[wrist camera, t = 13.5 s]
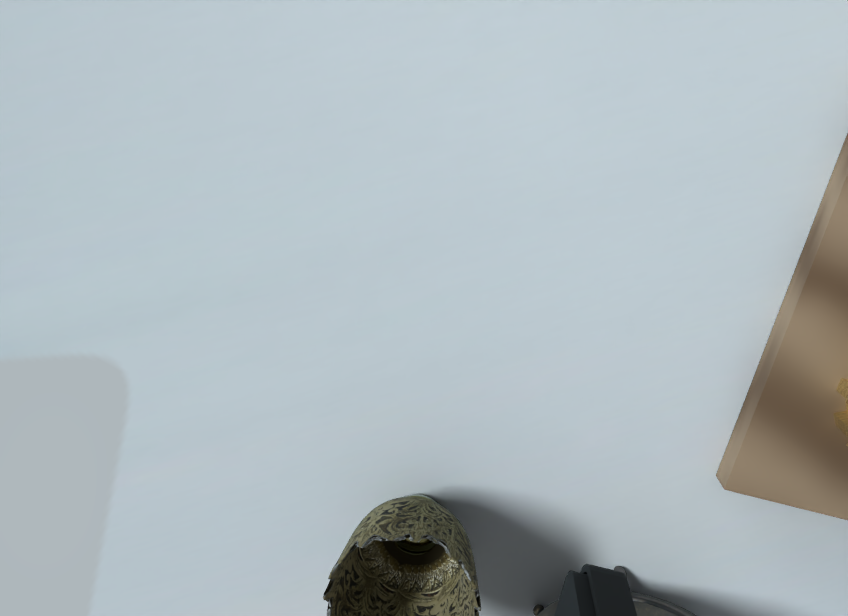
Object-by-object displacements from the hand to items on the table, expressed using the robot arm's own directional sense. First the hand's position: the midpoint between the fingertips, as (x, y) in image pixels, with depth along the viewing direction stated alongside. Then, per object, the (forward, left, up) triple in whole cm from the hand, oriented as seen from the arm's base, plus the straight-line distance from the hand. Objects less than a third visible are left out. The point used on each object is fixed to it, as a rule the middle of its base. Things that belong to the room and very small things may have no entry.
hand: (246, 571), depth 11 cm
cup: (+16, +3, -28) cm, 33 cm away
